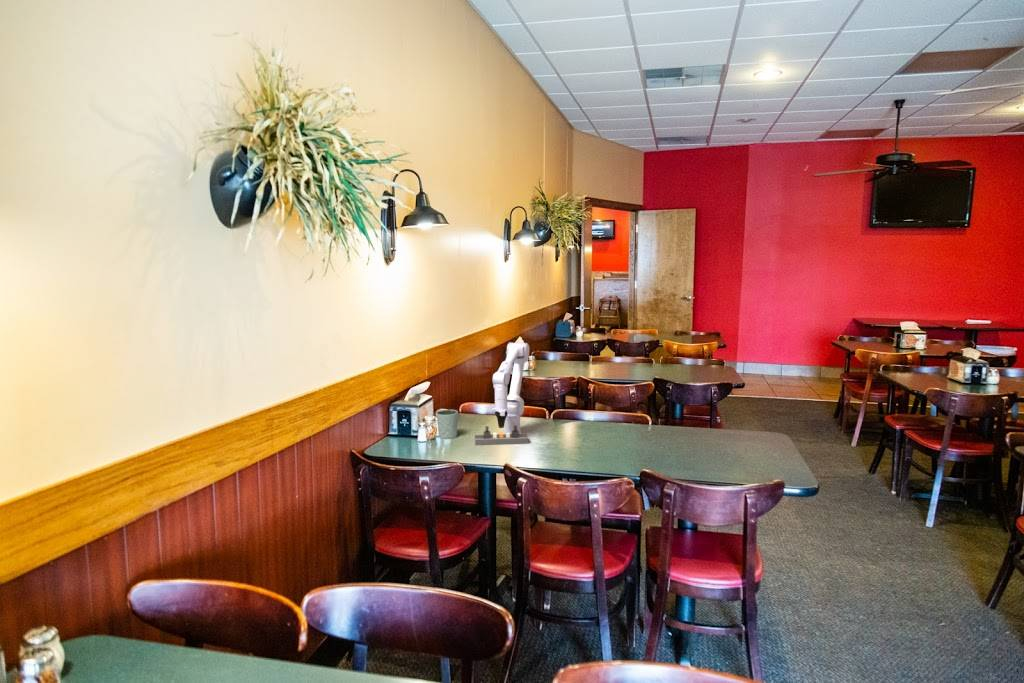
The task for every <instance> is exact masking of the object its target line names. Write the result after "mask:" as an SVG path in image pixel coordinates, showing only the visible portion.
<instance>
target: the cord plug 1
mask: <svg viewBox="0 0 1024 683" xmlns="http://www.w3.org/2000/svg"><path fill="white" fill-rule="evenodd" d="M489 427H490V426H487V425H486V426H485V431H483V435H484V438H491V435H492V434H491V431H489Z"/></svg>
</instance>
